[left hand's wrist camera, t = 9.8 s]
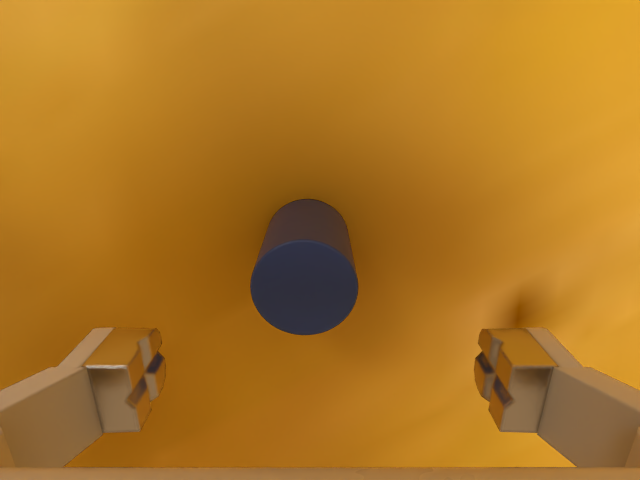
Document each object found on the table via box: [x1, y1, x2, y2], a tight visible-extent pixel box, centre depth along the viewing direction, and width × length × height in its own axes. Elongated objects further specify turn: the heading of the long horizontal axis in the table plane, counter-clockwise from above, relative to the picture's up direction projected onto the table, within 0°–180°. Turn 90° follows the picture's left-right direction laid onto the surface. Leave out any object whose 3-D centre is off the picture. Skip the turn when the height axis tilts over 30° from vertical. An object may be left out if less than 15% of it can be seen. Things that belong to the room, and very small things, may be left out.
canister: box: [250, 199, 358, 335], centre depth 15 cm, size 3×3×5 cm
